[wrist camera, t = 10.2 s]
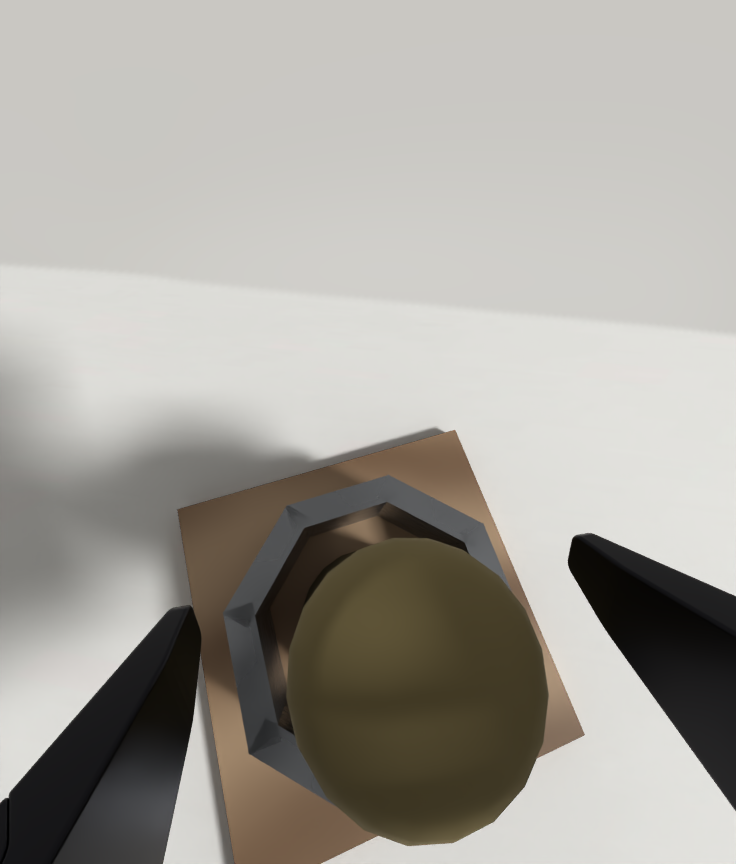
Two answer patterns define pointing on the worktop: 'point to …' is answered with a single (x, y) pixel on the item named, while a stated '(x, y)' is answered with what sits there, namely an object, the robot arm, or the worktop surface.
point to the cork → (416, 690)
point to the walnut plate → (220, 578)
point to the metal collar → (271, 567)
